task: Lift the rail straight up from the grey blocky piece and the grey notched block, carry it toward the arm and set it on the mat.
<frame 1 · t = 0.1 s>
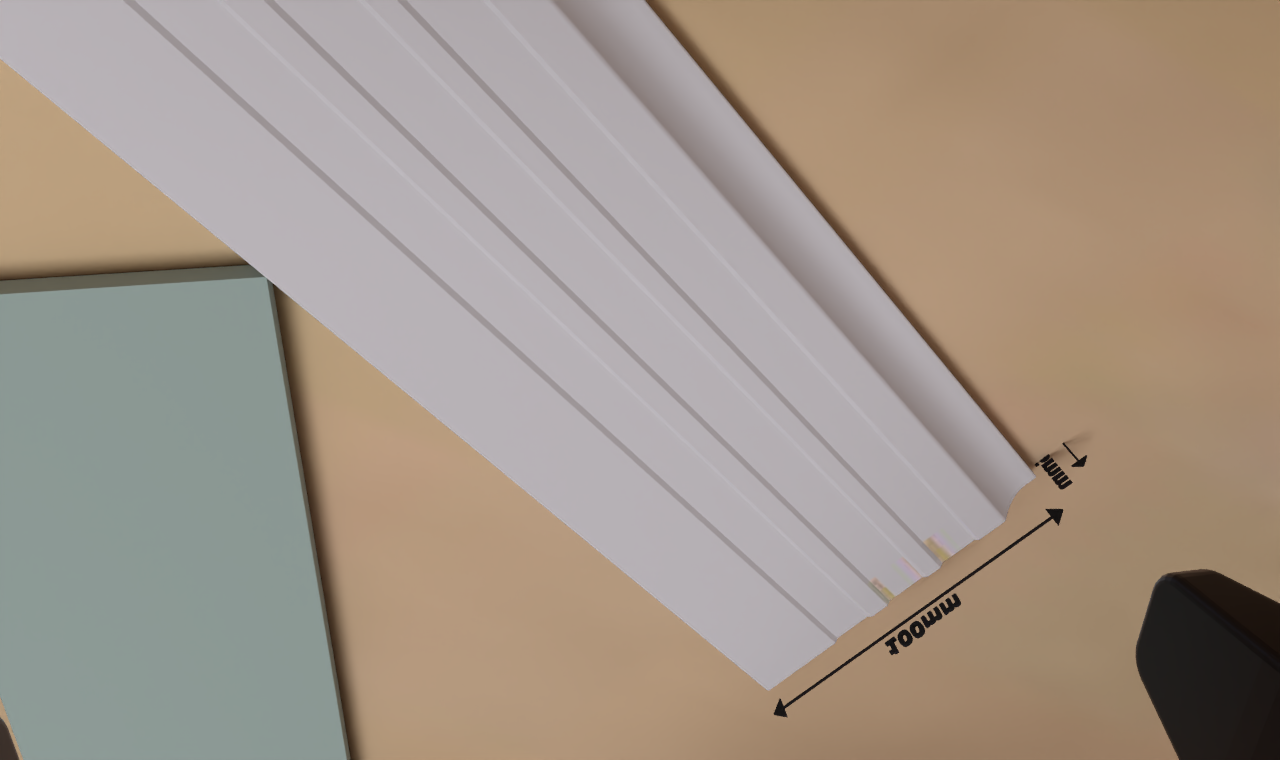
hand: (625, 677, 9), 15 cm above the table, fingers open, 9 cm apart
baseboard: (495, 114, 22), on the table
mat: (163, 622, 26), on the table
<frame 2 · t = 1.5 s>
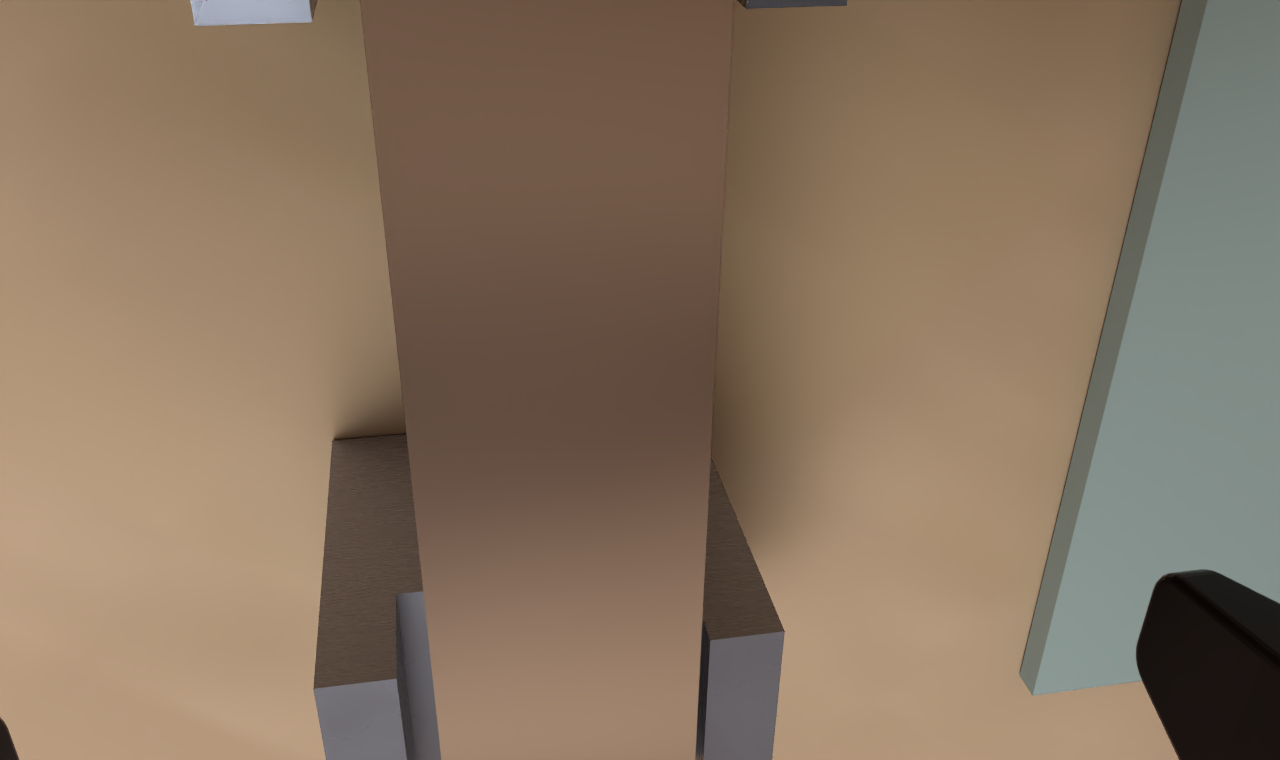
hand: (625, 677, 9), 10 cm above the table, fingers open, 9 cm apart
grey blocky piece: (520, 520, 21), on the table
mat: (1279, 310, 21), on the table
rail: (532, 321, 14), point 4 cm above the table, touching grey blocky piece, grey notched block
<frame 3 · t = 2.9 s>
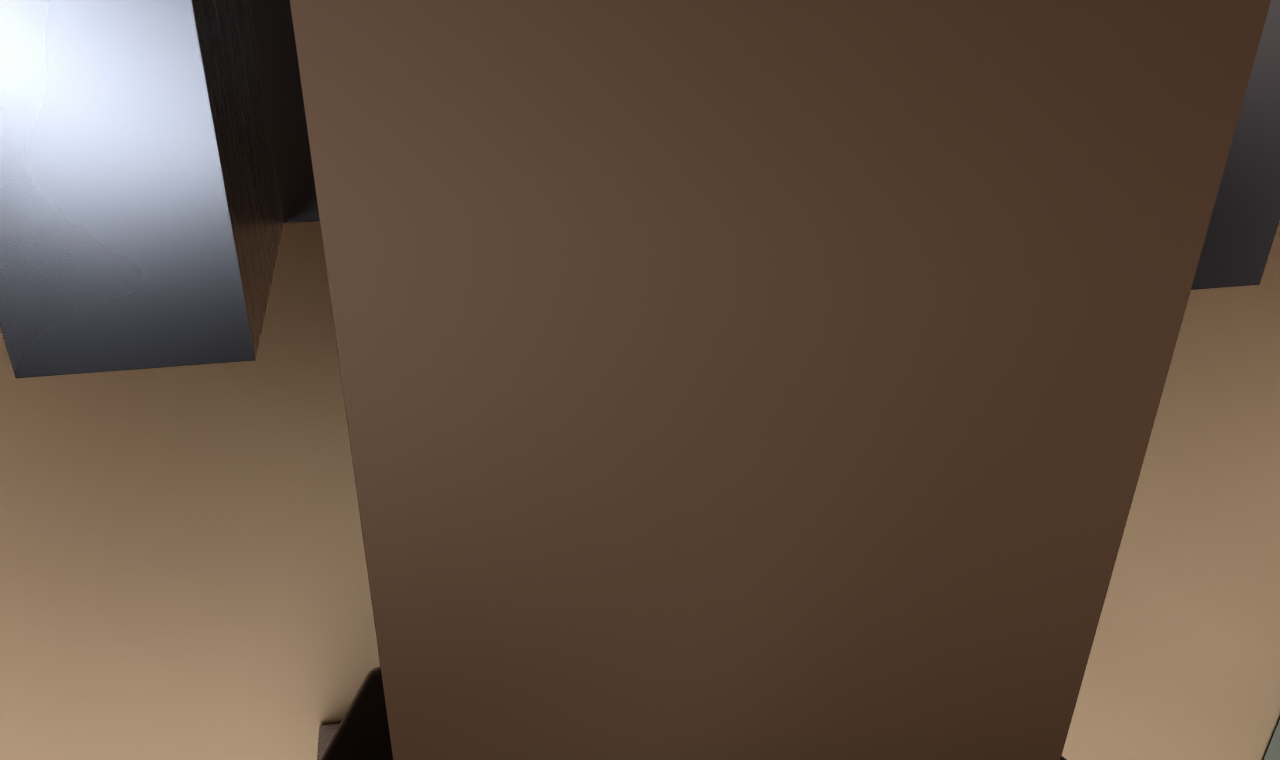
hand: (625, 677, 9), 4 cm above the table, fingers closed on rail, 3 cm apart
rail: (628, 694, 9), point 4 cm above the table, touching gripper, grey blocky piece, grey notched block
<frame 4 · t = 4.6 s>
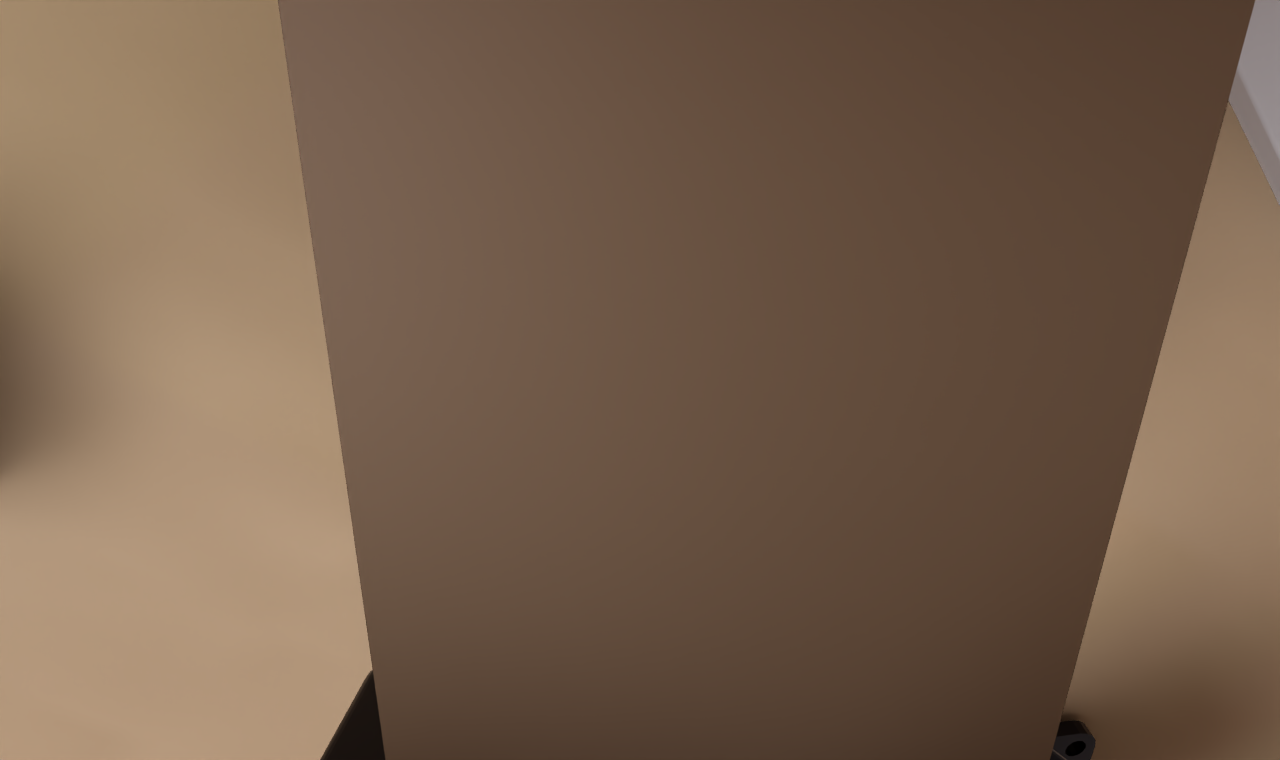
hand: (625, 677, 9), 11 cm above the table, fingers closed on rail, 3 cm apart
rail: (624, 685, 9), point 11 cm above the table, touching gripper
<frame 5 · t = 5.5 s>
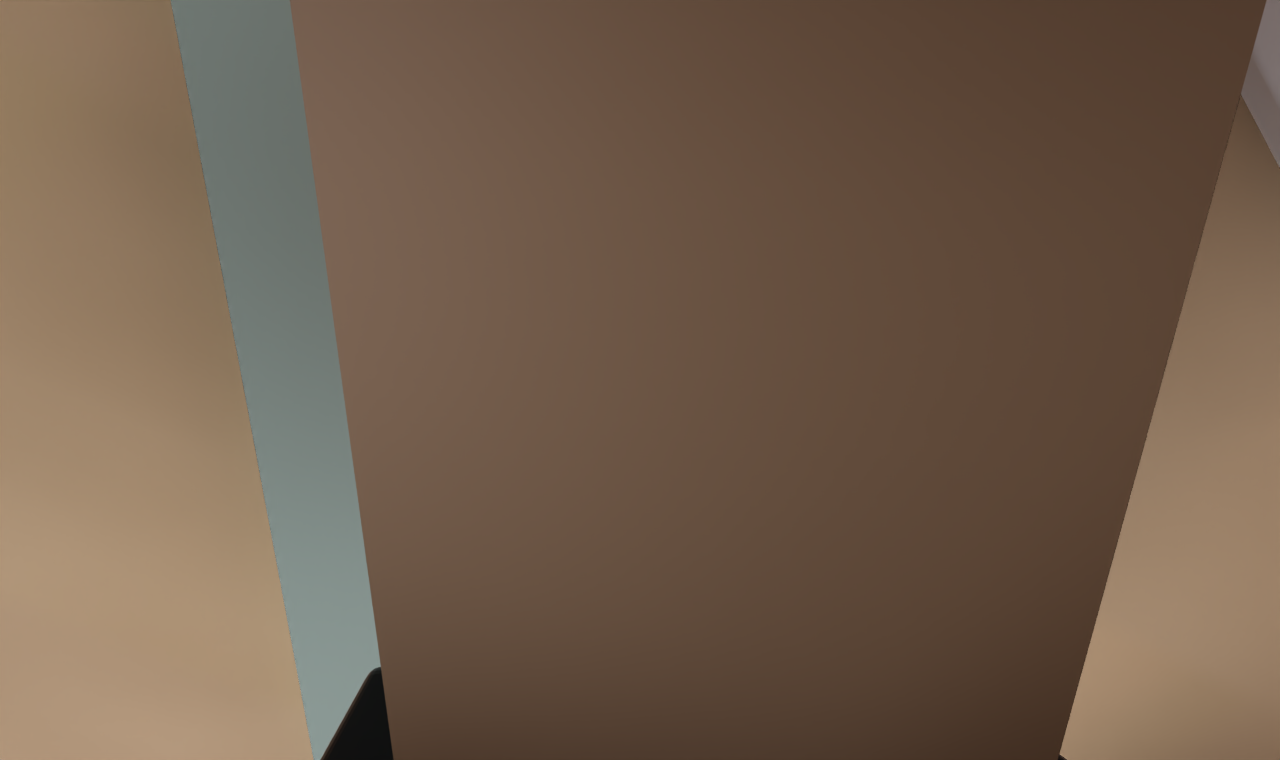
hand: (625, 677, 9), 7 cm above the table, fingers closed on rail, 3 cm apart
mat: (531, 295, 15), on the table
rail: (628, 685, 9), point 7 cm above the table, touching gripper
when the fingers open (2 cm above the table, at t = 6.4 s): rail drops 2 cm, resting on mat.
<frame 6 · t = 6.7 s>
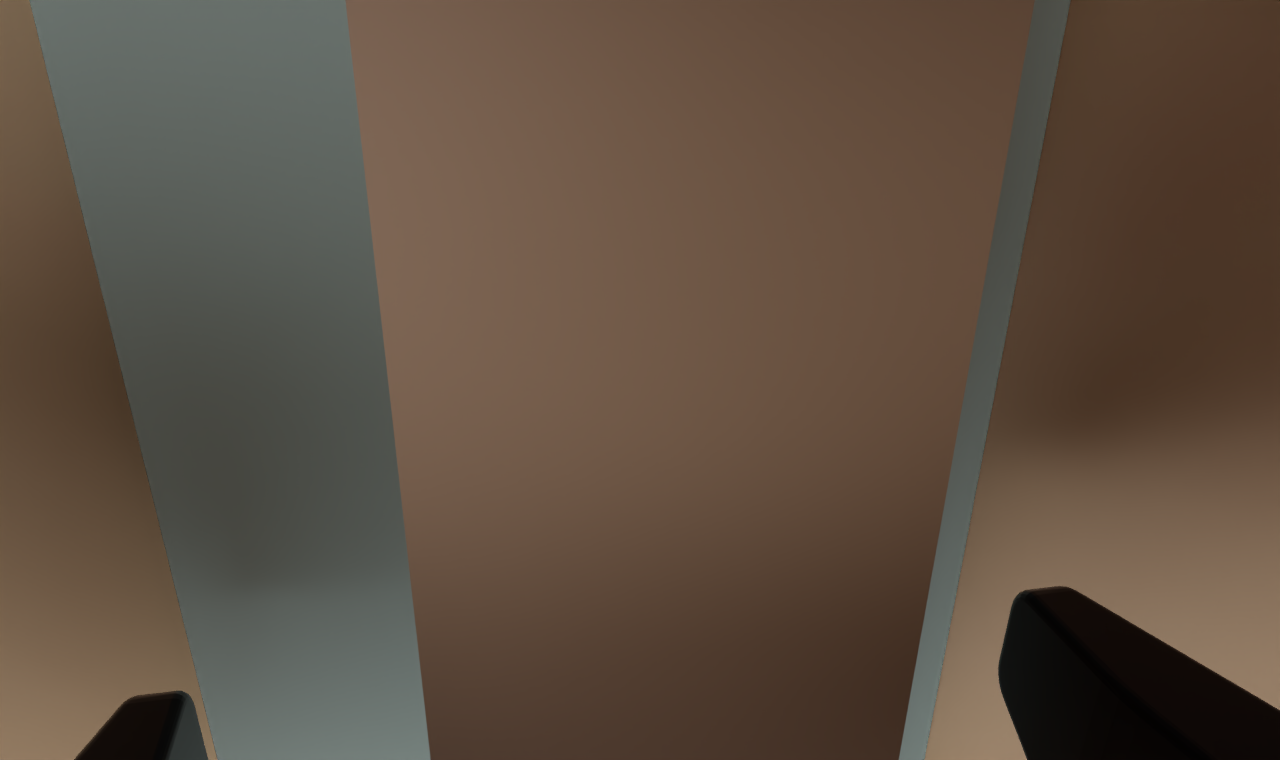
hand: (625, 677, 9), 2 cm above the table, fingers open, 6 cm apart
mat: (587, 520, 11), on the table
rail: (603, 557, 10), point 1 cm above the table, touching mat
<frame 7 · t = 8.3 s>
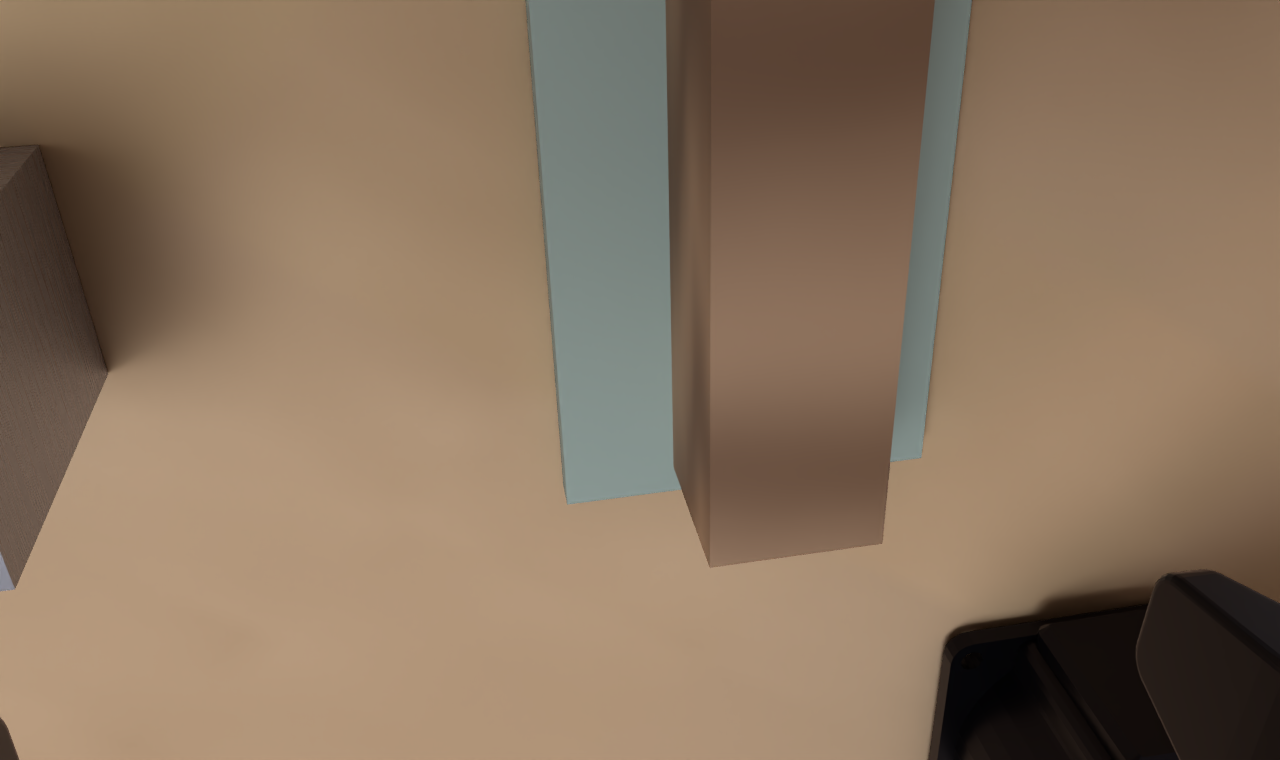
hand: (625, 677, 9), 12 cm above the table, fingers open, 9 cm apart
mat: (747, 23, 19), on the table
rail: (760, 29, 18), point 1 cm above the table, touching mat
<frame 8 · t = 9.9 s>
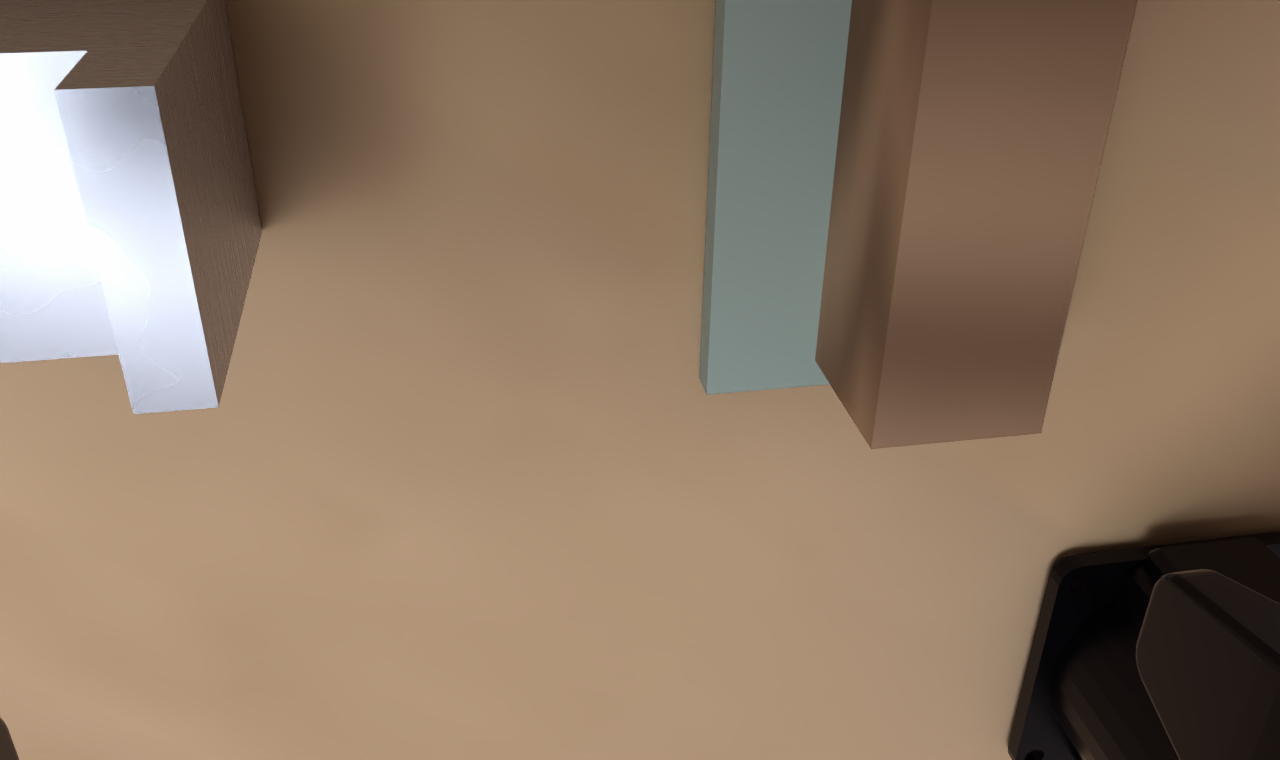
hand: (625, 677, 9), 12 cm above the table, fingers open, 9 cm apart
grey blocky piece: (37, 120, 18), on the table
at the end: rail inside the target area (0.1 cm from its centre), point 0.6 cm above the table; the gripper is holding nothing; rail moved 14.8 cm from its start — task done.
